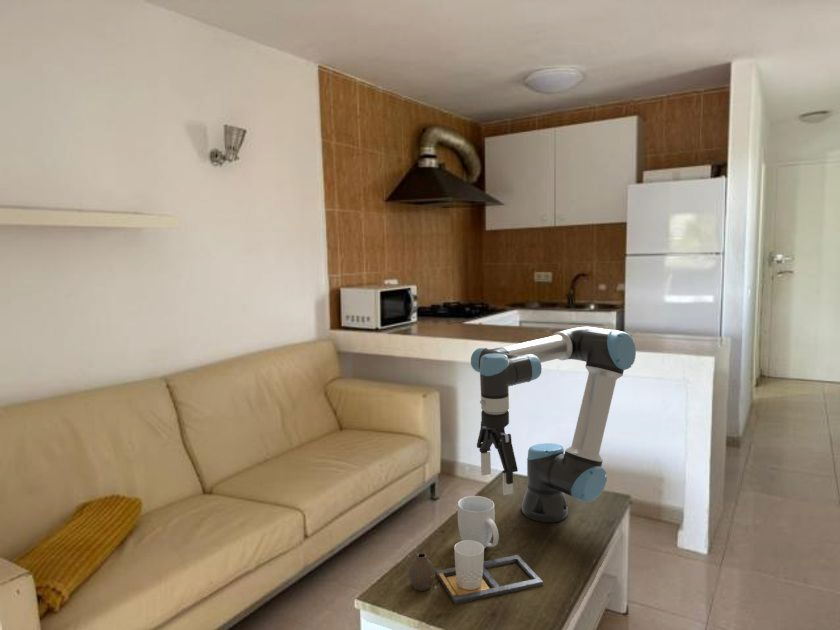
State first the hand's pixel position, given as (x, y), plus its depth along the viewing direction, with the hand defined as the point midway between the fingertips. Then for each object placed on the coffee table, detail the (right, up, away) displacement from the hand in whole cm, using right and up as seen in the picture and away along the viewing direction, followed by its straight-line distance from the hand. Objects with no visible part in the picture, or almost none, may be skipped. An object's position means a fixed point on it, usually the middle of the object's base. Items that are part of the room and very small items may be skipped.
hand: (496, 483), depth 159 cm
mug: (-4, -22, +12) cm, 26 cm away
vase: (-21, -25, -8) cm, 34 cm away
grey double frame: (-3, -24, -5) cm, 25 cm away
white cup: (-8, -25, -7) cm, 27 cm away
